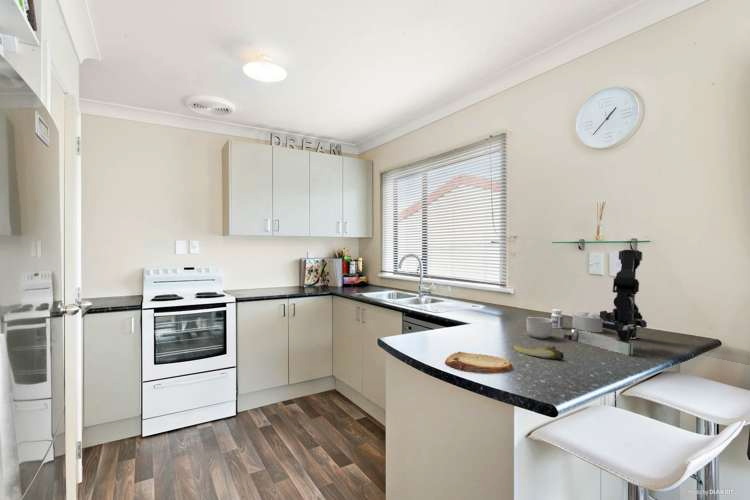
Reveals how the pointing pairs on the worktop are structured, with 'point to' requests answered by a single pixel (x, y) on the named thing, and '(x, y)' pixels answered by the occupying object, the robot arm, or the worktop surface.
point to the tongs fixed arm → (599, 341)
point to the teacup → (539, 327)
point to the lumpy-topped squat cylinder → (587, 321)
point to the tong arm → (619, 340)
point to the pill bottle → (557, 319)
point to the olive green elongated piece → (541, 352)
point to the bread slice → (478, 363)
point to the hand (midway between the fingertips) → (623, 345)
